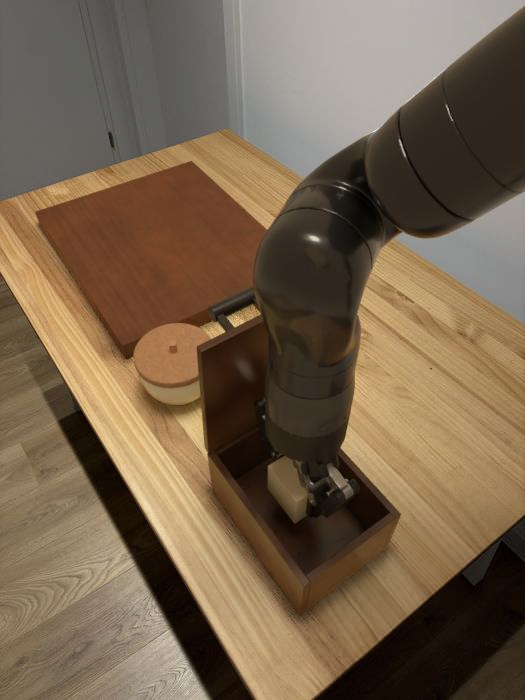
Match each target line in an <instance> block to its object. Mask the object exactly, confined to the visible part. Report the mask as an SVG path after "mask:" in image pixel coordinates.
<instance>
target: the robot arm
mask: <svg viewBox="0 0 525 700" xmlns="http://www.w3.org/2000/svg"><path fill="white" fill-rule="evenodd" d="M524 192H525V5H523V6H522V7H521V8H520V9H518V10H517V11H515V12H514V13H513V14H512V15H510V17H508V18H507V19H505V20H504V21H503V22H501V23H500V24H499V25H498V26H497V27H496V28H494V29H492V30H491V31H490V32H489V33H487V34H486V35H485V36H483V37H482V38H481V39H480V40H479V41H478V42H476V43H475V44H474V45H473V46H472V47H470V48H469V49H468V50H467V51H465V52H464V53H463V54H461V55H460V56H459V57H458V58H457V59H456V60H454V61H453V62H452V63H450V64H449V65H448V66H447V67H446V68H445V69H443V70H442V71H441V72H440V73H439V74H438V75H437V76H435V77H434V78H433V79H432V80H430V81H429V82H428V83H427V84H426V85H425V86H424V87H422V88H421V89H420V90H419V91H417V92H416V94H415V93H414V95H413V96H412V97H411V98H409V99H408V100H407V101H406V102H405V103H404V104H403V105H401V106H400V107H399V108H398V109H397V110H396V111H394V112H393V113H392V115H390V116H389V117H388V118H387V119H386V120H385V122H383V123H382V124H381V126H379V127H378V128H377V129H375V130H373V131H372V132H369V133H368V134H366V135H363V136H362V137H360V138H359V139H356V140H355V141H354V142H352V143H350V144H348V145H347V146H345V147H344V148H343V149H341V150H339V151H337V152H336V153H335V154H333V155H331V156H330V157H329V158H327V159H326V160H324V161H323V162H322V163H320V164H319V165H318V166H317V167H316V168H315V169H313V170H312V171H311V172H309V174H308V175H307V176H306V177H305V178H303V180H301V181H300V182H299V184H298V185H297V186H296V187H295V188H294V189H293V190H292V192H291V194H290V195H289V196H288V198H287V199H286V201H285V202H284V204H283V205H282V207H281V209H280V210H279V212H278V213H277V215H276V216H275V218H274V219H273V221H272V223H271V224H270V225H269V227H268V228H267V232H266V233H265V235H264V236H263V238H262V240H261V242H260V244H259V247H258V249H257V253H256V257H255V262H254V270H253V288H254V294H255V298H256V301H257V304H258V307H259V310H260V312H259V313H260V315H261V316H262V319H263V322H264V325H265V327H266V330H267V332H268V334H269V335H268V367H267V372H266V377H265V396H264V397H262V398H260V399H259V400H257V401H256V402H254V405H255V410H256V416H257V421H258V426H259V431H260V436H261V439H262V441H263V442H264V443H265V444H268V443H270V445H271V449H270V452H271V455H272V457H274V462H275V461H277V460H278V459H280V458H281V457H283V456H286V457H288V458H290V459H291V460H292V462H293V466H294V467H295V468H296V469H297V473H298V477H299V481H300V485H301V486H302V487H303V488H304V489H305V490H306V491H307V495H308V498H307V507H306V514H307V515H308V516H309V518H312V517H313V516H314V517H315V518H318V517H319V516H320V515H323V516H324V517H326V518H328V517H329V516H330V515H332V514H333V513H335V512H336V511H338V510H339V509H340V508H342V507H343V506H345V505H346V504H347V503H348V502H349V501H350V500H351V499H352V498H353V497H354V496H355V495H356V494H357V493H358V492H359V491H360V486H359V484H358V483H357V482H356V481H355V480H354V479H351V480H350V481H348V480H347V479H344V478H343V477H342V475H341V474H340V472H339V471H338V468H339V460H338V456H337V453H338V451H339V449H340V448H342V446H343V444H344V442H345V439H346V436H347V431H348V426H349V421H350V417H351V412H352V406H353V401H354V396H355V390H356V369H357V364H358V358H359V352H360V348H361V339H362V325H361V320H360V317H359V309H360V305H361V303H362V299H363V295H364V292H365V290H366V286H367V284H368V282H369V279H370V277H371V275H372V272H373V269H374V267H375V264H376V262H377V259H378V257H379V255H380V252H381V251H382V249H383V248H384V247H385V246H386V245H388V244H389V243H390V242H391V241H392V240H393V239H395V238H396V237H398V236H400V235H401V234H403V233H404V234H406V235H408V236H410V237H413V238H415V239H416V238H417V239H423V240H428V239H429V240H430V239H437V238H441V237H443V236H446V235H449V234H451V233H453V232H456V231H458V230H459V229H461V228H463V227H465V226H467V225H469V224H471V223H472V222H474V221H476V220H477V219H480V218H481V217H483V216H485V215H487V214H489V213H491V212H492V211H494V210H495V209H497V208H498V207H500V206H502V205H504V204H505V203H507V202H509V201H510V200H512V199H514V198H515V197H518V196H520V195H521V194H523V193H524ZM322 485H323V487H321V486H322ZM319 487H321V488H320V489H318V488H319ZM317 489H318V490H317Z"/></svg>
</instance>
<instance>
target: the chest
mask: <svg viewBox="0 0 525 700" xmlns="http://www.w3.org/2000/svg"><path fill="white" fill-rule="evenodd" d="M270 449H271V445H270V443H268V444H265V443H264V442H263V441H262V439H261V436H260V431H259V426H258V425H256V426H254V427H252V428H251V429H249V430H247V431H246V432H244V433H242V434H240V435H239V436H237V437H235V438H234V439H232V440H230V441H228V442H227V443H225V444H223V445H222V446H220V447H218V448H217V449H215V450H213V451H211V452H210V453H208V452H207V453H206V456H207V463H208V469H209V477H210V483H211V487H212V488H211V490H212V492H213V494H214V496H215V497H216V498H217V499H218V501H219V502H220V504H221V505H222V507H223V508H224V509H225V511H226V513H227V514H228V515H229V517H230V518H231V519H232V521H233V522H234V523H235V525H236V527H237V528H238V530H239V531H240V533H241V534H242V535H243V536H244V538H245V539H246V541H247V542H248V544H249V546H250V547H251V549H253V551H254V553H255V554H256V556H257V557H258V558H259V559H260V561H261V562H262V564H263V565H264V567H265V568H266V570H267V571H268V573H269V574H270V575H271V577H272V578H273V579H274V581H275V582H276V585H278V587H279V588H280V590H281V591H282V593H283V595H285V597H286V598H287V600H288V601H289V602H290V604H291V605H292V607H293V608H294V610H295V611H296V613H297V614H298V615H299V616H302V615H303V614H304V613H306V612H307V611H308V610H309V609H310V608H312V607H313V606H314V605H316V604H317V603H318V602H319V601H321V600H322V599H324V598H325V597H327V596H328V595H329V594H330V593H332V591H334V590H335V589H336V588H338V587H339V586H340V585H342V584H343V583H344V582H346V581H347V580H348V579H349V578H351V577H352V576H353V575H355V574H356V573H357V572H358V571H360V570H361V569H363V568H364V567H365V566H367V565H368V564H369V563H370V562H371V561H373V560H374V559H376V558H377V557H378V556H380V554H382V553H383V552H385V551H386V550H387V549H388V547H389V545H390V543H391V540H392V538H393V535H394V533H395V531H396V528H397V525H398V523H399V520H400V519H401V516H402V513H401V512H400V511H399V510H398V509H397V507H396V506H394V505H393V503H392V502H391V501H390V500H389V499H388V498H387V496H386V495H384V494H383V492H382V491H381V490H380V489H379V488H378V487H377V486H376V485H375V483H374V482H373V481H372V480H370V478H369V477H368V476H367V475H366V474H365V473H364V472H363V471H362V470H361V468H360V467H359V466H358V465H357V464H356V463H355V462H354V461H353V460H352V459H351V457H350V456H349V455H348V454H347V453H346V452H345V451H344V449H342V447H340V449H339V451H338V453H337V456H338V460H339V468H338V471H339V472H340V474H341V475H342V477H343V478H344V479H347V480H348V481H350V480H351V479H354V480H355V481H356V482H357V483H358V484H359V486H360V491H359V492H358V493H357V494H356V495H355V496H354V497H353V498H352V499H351V500H350V501H349V502H348V503H347V504H346V505H345V506H343V507H342V508H340V509H339V510H338V511H336V512H335V513H333V514H332V515H330V516H329V517H328V518H326V517H324V516H323V515H320V516H319V517H318V518H315V517H314V516H313V517H312V518H309V516H308V515H307V516H305V517H304V518H302V519H301V520H300V521H298V522H297V523H294V522H293V521H292V520H291V518H290V517H289V516H288V514H287V513H286V512H285V511H284V509H283V508H282V507H281V505H280V504H279V503H278V501H277V500H276V499H275V498H274V496H273V495H272V494H271V492H270V491H269V490H268V466H269V465H270V464H272V463H273V462H274V457H272V455H271V452H270Z"/></svg>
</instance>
